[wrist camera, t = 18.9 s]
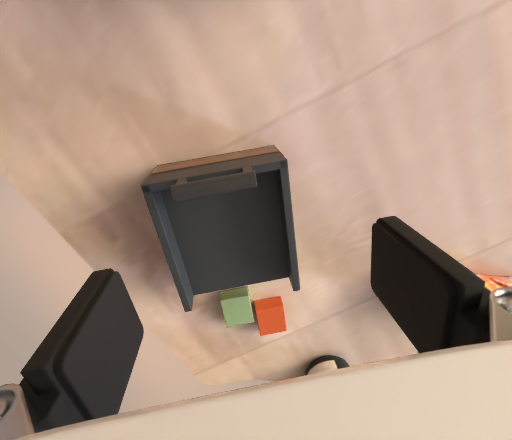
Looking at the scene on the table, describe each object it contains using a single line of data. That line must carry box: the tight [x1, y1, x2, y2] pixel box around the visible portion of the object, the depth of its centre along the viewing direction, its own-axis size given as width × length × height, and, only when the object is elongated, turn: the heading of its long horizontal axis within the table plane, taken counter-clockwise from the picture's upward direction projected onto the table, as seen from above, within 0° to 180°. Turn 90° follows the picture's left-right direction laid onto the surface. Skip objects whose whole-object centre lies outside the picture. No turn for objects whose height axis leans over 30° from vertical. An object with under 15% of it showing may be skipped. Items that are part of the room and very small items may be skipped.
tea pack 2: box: [254, 296, 287, 336], centre depth 42 cm, size 5×4×2 cm
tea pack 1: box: [220, 287, 254, 327], centre depth 41 cm, size 5×4×2 cm
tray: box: [141, 152, 300, 312], centre depth 29 cm, size 16×14×7 cm
